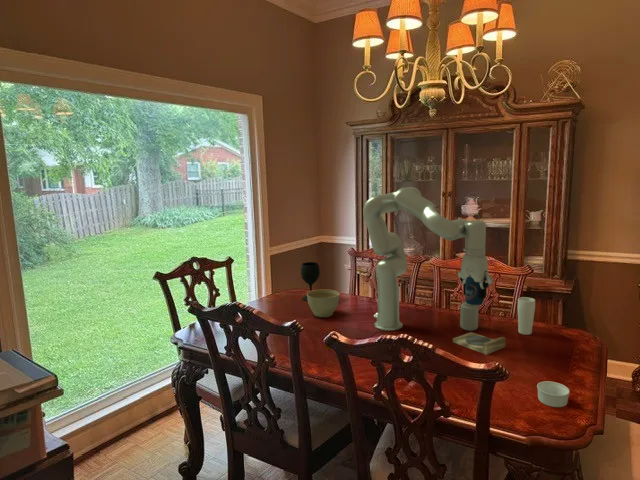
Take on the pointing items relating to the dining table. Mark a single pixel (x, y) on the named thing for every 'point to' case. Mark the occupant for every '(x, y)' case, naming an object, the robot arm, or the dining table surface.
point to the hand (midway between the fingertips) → (474, 295)
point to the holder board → (480, 343)
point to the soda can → (472, 292)
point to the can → (469, 317)
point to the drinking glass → (525, 315)
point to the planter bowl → (323, 302)
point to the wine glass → (310, 274)
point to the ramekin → (553, 393)
